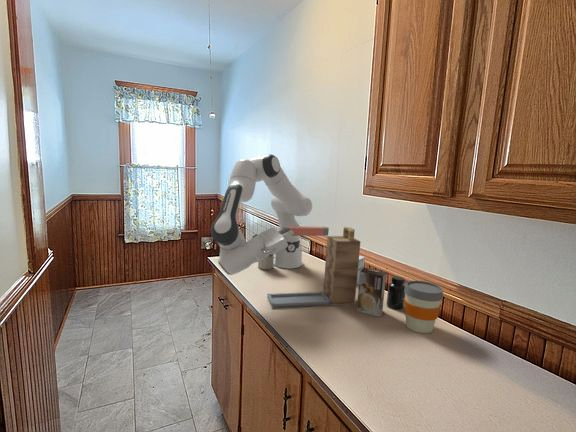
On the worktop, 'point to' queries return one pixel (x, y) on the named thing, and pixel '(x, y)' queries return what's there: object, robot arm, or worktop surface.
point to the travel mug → (266, 262)
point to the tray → (298, 299)
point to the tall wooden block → (341, 267)
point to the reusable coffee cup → (422, 305)
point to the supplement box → (360, 266)
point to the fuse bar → (307, 231)
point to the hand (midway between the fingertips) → (291, 229)
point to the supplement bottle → (396, 293)
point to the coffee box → (371, 291)
